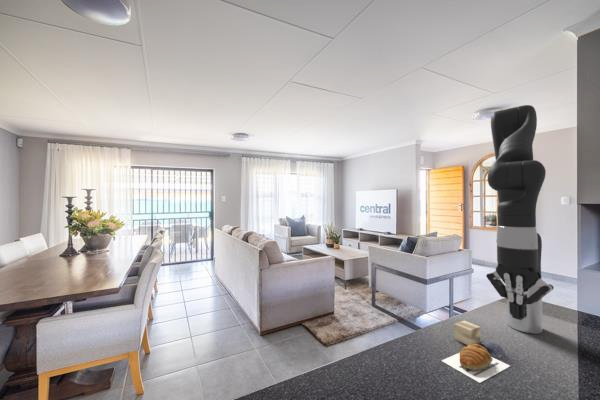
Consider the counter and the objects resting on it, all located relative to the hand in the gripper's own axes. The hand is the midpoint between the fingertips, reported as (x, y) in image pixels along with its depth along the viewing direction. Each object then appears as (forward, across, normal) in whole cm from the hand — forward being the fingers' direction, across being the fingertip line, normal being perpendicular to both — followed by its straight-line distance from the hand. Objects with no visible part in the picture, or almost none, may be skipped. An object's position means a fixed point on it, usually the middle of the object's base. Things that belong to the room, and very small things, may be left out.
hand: (518, 318), depth 62 cm
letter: (+16, +10, 0) cm, 19 cm away
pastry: (+16, +10, 0) cm, 19 cm away
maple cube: (+16, +18, -10) cm, 26 cm away
